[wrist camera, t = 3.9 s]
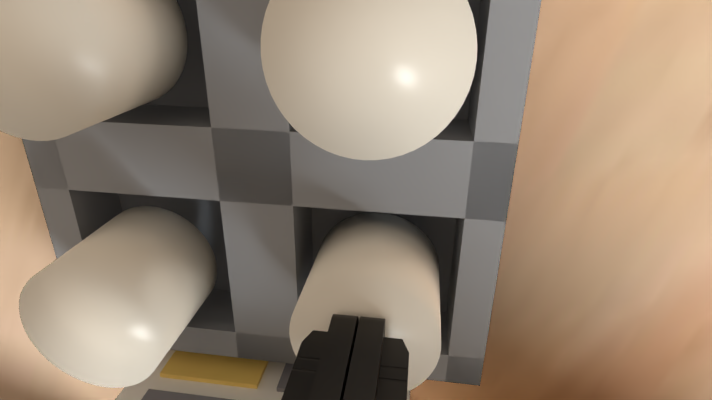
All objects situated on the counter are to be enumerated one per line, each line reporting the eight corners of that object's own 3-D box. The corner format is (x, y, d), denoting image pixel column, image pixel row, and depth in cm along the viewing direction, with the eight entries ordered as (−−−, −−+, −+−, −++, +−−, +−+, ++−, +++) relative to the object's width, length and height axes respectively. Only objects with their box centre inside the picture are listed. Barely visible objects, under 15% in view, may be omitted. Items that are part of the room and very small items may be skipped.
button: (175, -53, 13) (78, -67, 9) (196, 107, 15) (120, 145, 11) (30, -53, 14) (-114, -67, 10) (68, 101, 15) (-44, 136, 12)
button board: (533, -113, 14) (678, -252, 6) (467, 356, 21) (490, 584, 13) (40, -106, 16) (-366, -202, 8) (136, 320, 23) (-22, 499, 15)
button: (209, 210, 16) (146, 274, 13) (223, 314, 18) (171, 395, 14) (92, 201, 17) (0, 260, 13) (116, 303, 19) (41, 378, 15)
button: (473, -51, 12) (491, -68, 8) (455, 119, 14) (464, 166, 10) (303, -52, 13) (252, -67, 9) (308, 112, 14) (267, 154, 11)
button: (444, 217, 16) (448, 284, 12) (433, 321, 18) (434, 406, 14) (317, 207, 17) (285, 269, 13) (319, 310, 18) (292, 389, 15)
